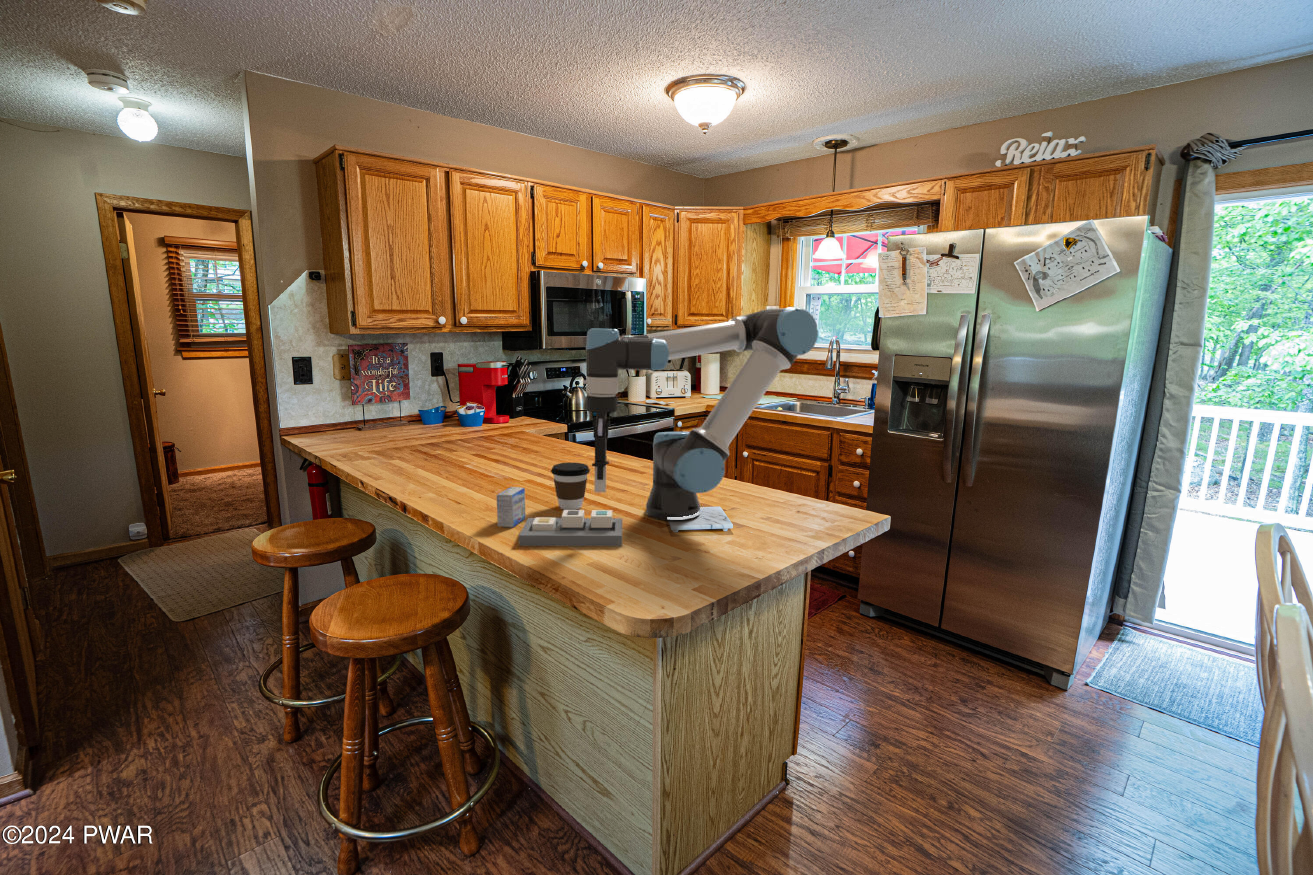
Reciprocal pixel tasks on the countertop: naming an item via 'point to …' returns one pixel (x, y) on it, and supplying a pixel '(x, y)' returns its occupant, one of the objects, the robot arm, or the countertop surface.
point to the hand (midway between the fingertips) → (600, 491)
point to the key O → (601, 519)
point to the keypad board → (572, 535)
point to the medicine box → (511, 507)
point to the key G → (544, 524)
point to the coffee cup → (570, 484)
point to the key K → (573, 518)
